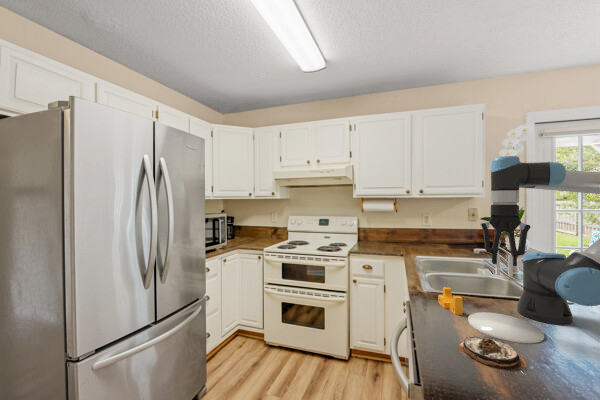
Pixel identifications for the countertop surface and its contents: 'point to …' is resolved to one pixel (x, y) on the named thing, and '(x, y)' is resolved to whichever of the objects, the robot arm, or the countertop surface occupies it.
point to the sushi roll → (492, 352)
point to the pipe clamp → (451, 301)
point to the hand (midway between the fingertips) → (503, 274)
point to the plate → (506, 327)
